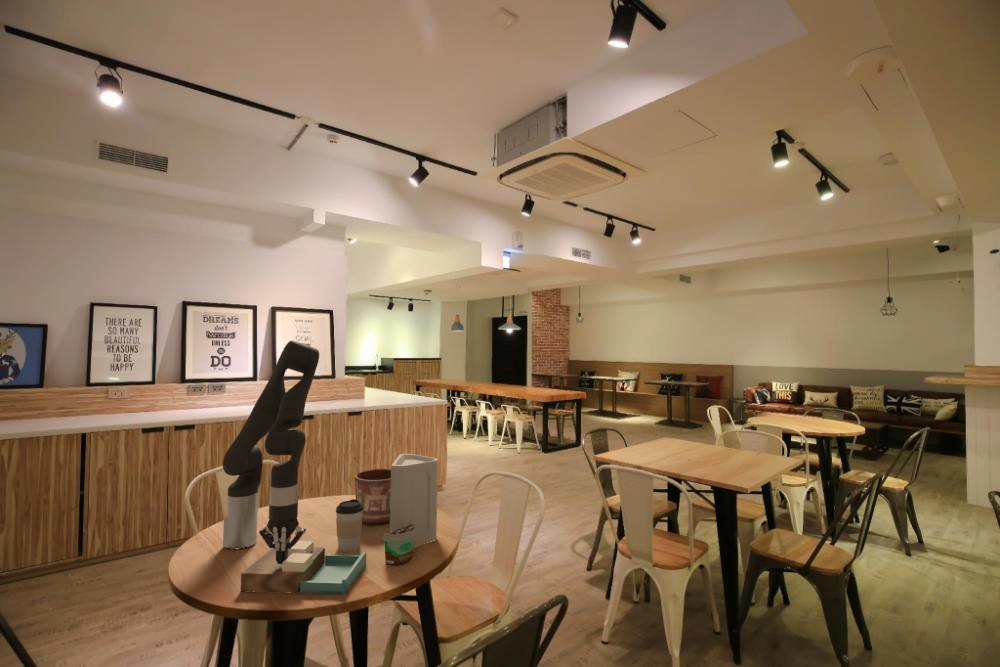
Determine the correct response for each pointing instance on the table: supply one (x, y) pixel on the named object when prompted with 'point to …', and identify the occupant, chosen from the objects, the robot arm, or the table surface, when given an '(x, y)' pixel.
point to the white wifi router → (414, 496)
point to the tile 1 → (302, 547)
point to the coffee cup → (349, 524)
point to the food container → (399, 545)
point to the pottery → (374, 495)
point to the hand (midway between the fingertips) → (281, 562)
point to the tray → (335, 574)
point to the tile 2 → (297, 562)
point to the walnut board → (278, 574)
